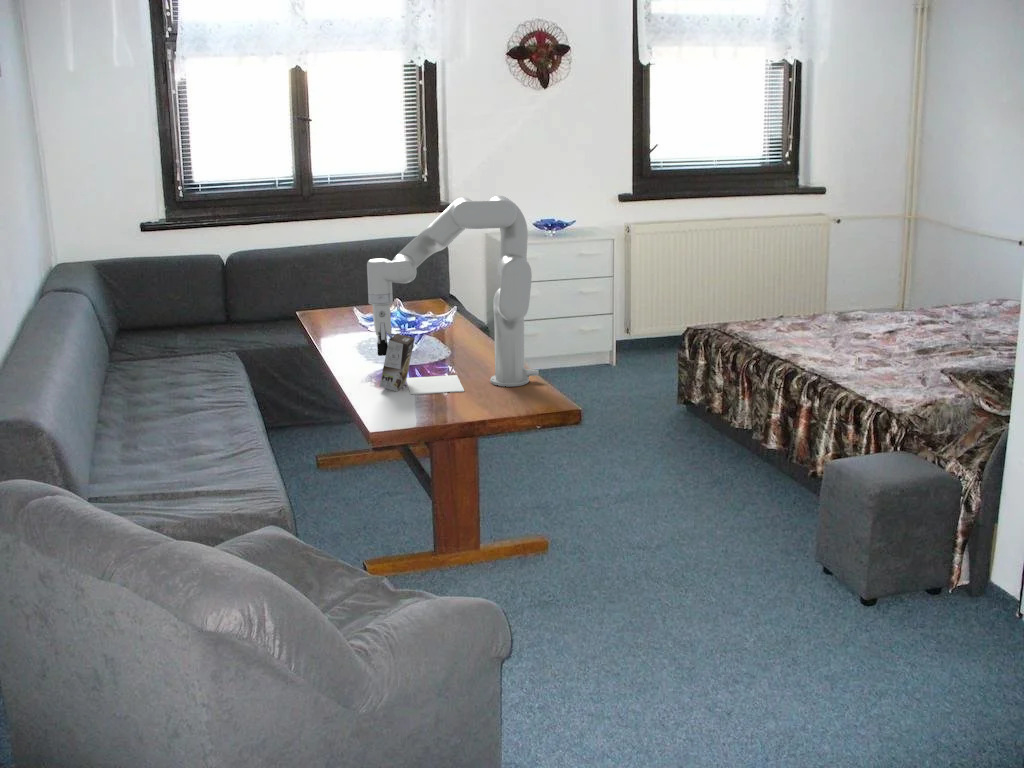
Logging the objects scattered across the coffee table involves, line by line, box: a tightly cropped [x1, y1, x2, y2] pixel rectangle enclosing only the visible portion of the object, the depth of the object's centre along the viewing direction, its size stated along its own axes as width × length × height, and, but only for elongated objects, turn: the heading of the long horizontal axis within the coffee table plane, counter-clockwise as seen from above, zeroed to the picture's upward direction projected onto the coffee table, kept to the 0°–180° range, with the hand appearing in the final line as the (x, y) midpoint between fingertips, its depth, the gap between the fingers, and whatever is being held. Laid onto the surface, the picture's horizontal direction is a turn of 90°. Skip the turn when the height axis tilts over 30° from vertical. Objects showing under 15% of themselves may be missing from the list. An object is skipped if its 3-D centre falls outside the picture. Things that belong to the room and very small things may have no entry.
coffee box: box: [379, 333, 416, 392], centre depth 352 cm, size 9×6×16 cm
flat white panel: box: [406, 374, 465, 395], centre depth 357 cm, size 17×18×1 cm
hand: (382, 354), depth 352 cm, fingers closed
